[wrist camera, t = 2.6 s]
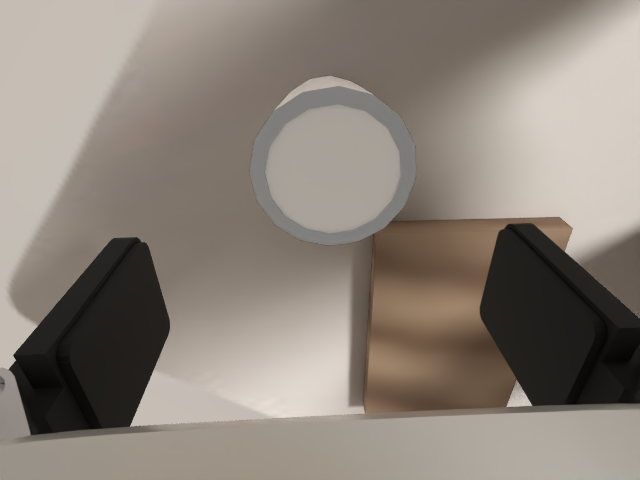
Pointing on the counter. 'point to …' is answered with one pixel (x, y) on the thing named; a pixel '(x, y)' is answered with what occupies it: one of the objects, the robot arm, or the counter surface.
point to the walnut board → (436, 316)
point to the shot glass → (332, 163)
